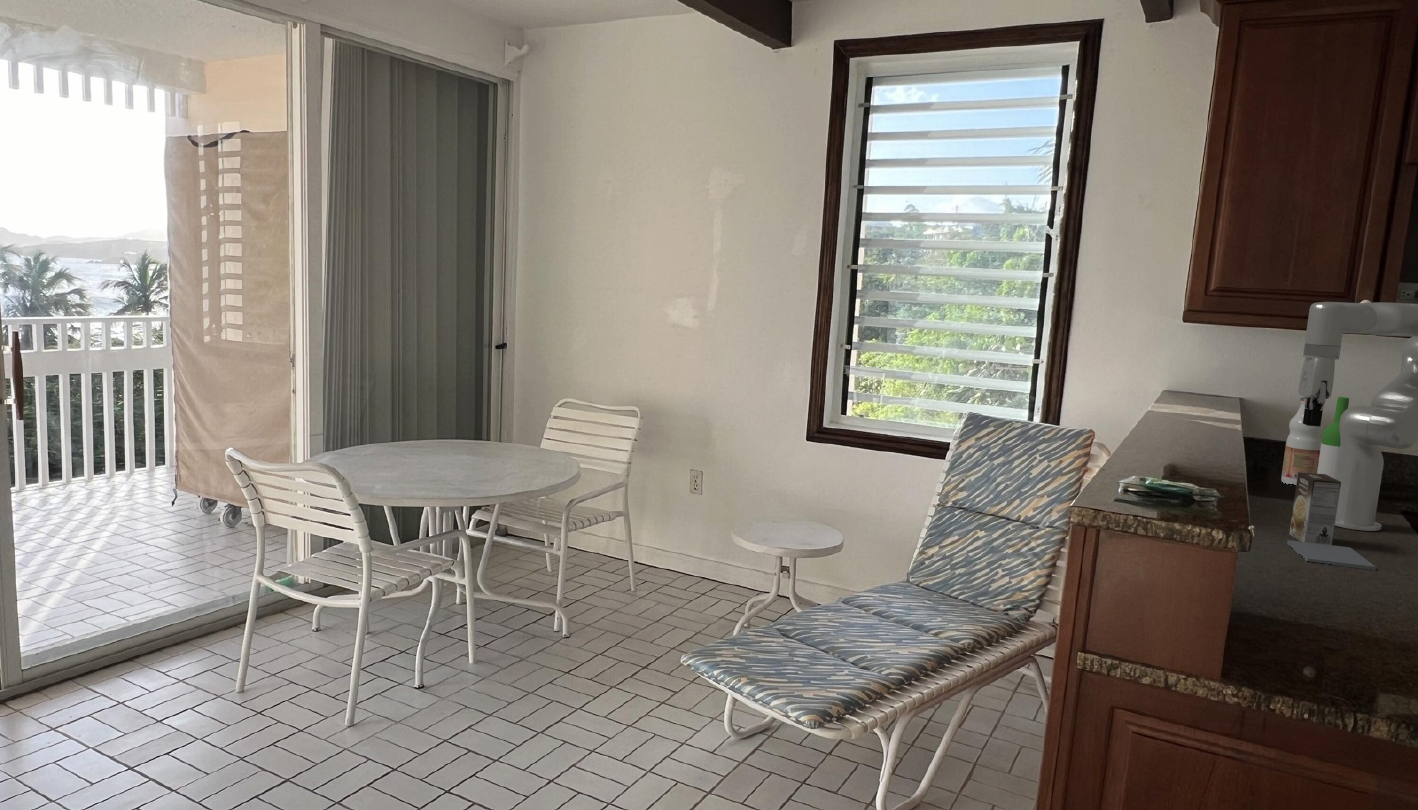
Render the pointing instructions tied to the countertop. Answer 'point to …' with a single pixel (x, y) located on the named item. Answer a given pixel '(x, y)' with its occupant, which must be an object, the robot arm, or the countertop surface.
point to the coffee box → (1315, 508)
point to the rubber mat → (1331, 555)
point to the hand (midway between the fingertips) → (1311, 424)
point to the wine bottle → (1332, 442)
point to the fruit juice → (1301, 448)
